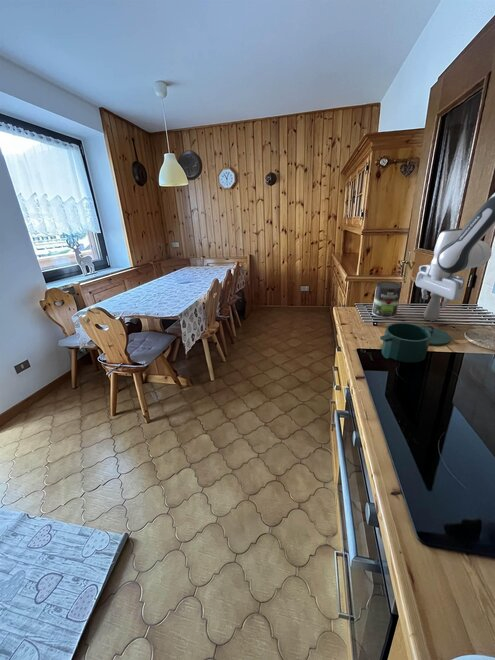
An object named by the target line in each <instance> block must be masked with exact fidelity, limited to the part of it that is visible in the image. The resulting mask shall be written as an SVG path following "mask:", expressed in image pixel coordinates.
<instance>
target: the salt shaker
mask: <svg viewBox="0 0 495 660" xmlns="http://www.w3.org/2000/svg"><path fill="white" fill-rule="evenodd" d="M430 297H431V298H430V300H429V302H428V304H427V305H426V308H425V310H424V312H423V317H424V320H425V319H427V320H430V321H429V322H432V321H434V322H436V321H437V320H438V319H439V317H440V314H441V313H440V312H441V307H440V303H441V298H443V297H442V296H440V295H437V294H435V293H432V292H430ZM427 320H426V321H427ZM435 320H436V321H435Z"/></svg>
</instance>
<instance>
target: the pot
mask: <svg viewBox="0 0 495 660" xmlns="http://www.w3.org/2000/svg"><path fill="white" fill-rule="evenodd" d="M422 326H423V325H418V324H415V323H410V322H393V323H389V324H388V325H386V327H385V329H384V335H380V338H379V339H380V340H381V341H382V346H381V355H382V357H383V358H385V359H393V360H394V361H398V362H403V363H420V362H422V361H424V360H426V357H427V355H428V354H427V353H428V351H429V347H430V344H429V343H430V339H431V333H433V332H434V330H432V329H430V328H429V327H428V328H423V327H422Z"/></svg>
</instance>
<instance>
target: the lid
mask: <svg viewBox="0 0 495 660" xmlns="http://www.w3.org/2000/svg"><path fill="white" fill-rule="evenodd" d="M421 326H422V327H423V328H428V327H429V328H430V329H432V330H434V332H433V333H431V339H430V343H429V345H433V346H434V345H435V346H439V345H441V346H442V345H446V344H449V343H450V342H451V340H452V336H451V335H450V334H449V332H446V331H445V330H442V329H440V328H438V327H434V326H432V325H421Z"/></svg>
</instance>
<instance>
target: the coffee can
mask: <svg viewBox="0 0 495 660" xmlns="http://www.w3.org/2000/svg"><path fill="white" fill-rule="evenodd" d="M402 288H403V285H402V284H401V283H399V282H395V281H388V280H385V281H383V280H382V281H378V282H376V284H375V292H374V299H373V303H372V304H373V305H372V310H371V314H372V315H373V316H374V317H376V318H380V319H393V318H395V317H396V316H397V311H398V306H399V301H400V296H401V291H402Z"/></svg>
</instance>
